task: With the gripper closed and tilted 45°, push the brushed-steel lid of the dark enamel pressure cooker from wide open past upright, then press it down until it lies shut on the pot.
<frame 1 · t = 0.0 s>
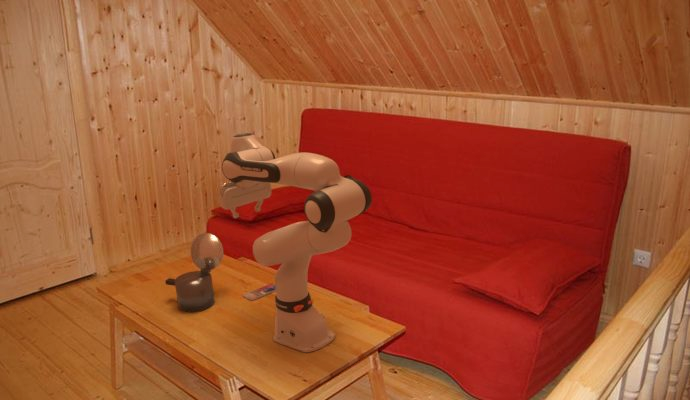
hand: (246, 214, 203), 39 cm above the table, tool pointing down, fingers open, 8 cm apart
cooker pot: (196, 303, 222), on the table
lid: (207, 252, 226), point 18 cm above the table, hinge at 108.0°
smartphone: (262, 293, 228), on the table
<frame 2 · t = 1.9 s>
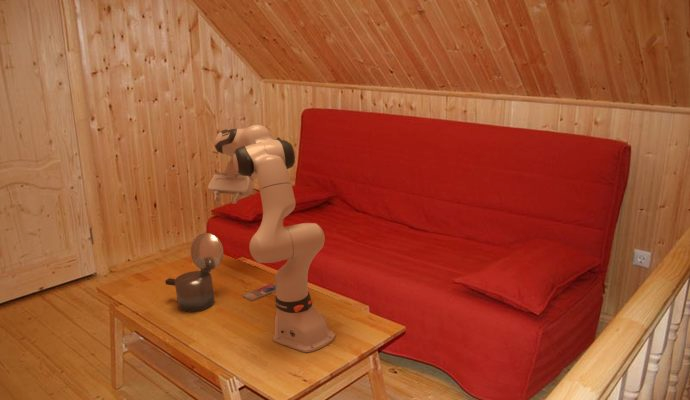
hand: (224, 202, 235), 34 cm above the table, tool tilted 45°, fingers open, 7 cm apart
nothing on the table moved.
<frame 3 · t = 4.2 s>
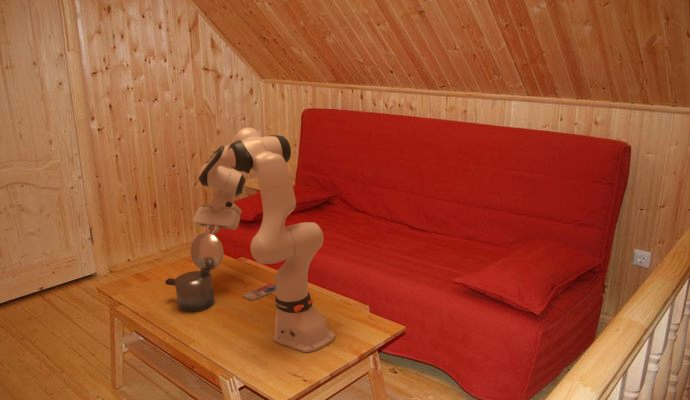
hand: (210, 236, 227), 23 cm above the table, tool tilted 45°, fingers closed, pressing on lid
lid: (207, 252, 226), point 18 cm above the table, hinge at 108.0°, touching gripper
everything else where it was.
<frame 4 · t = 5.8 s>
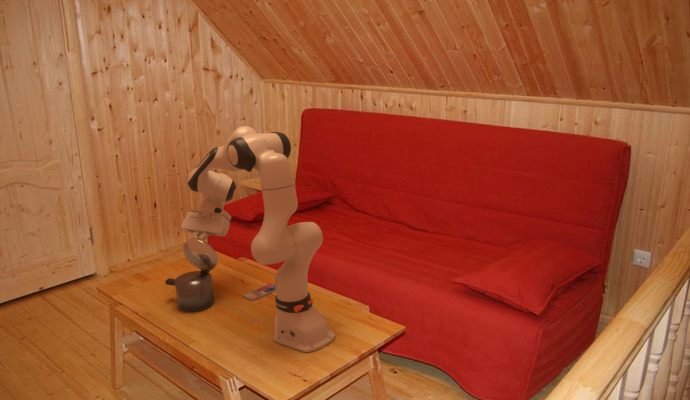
hand: (198, 243, 220), 23 cm above the table, tool tilted 45°, fingers closed, pressing on lid
lid: (201, 254, 222), point 18 cm above the table, hinge at 75.3°, touching gripper
everything else where it was.
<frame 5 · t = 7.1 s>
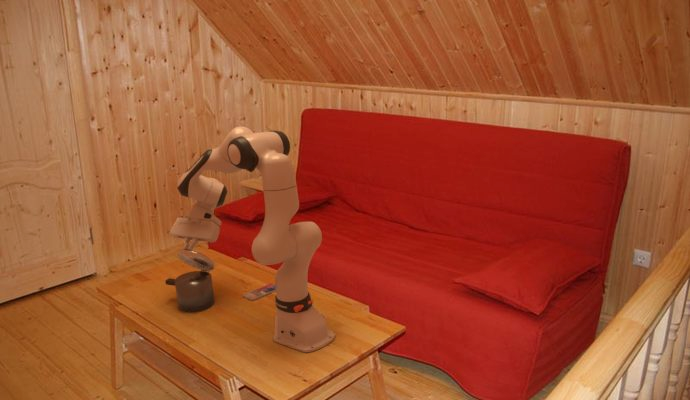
hand: (187, 249, 214), 23 cm above the table, tool tilted 45°, fingers closed, pressing on lid
lid: (197, 258, 220), point 18 cm above the table, hinge at 51.4°, touching gripper
everything else where it was.
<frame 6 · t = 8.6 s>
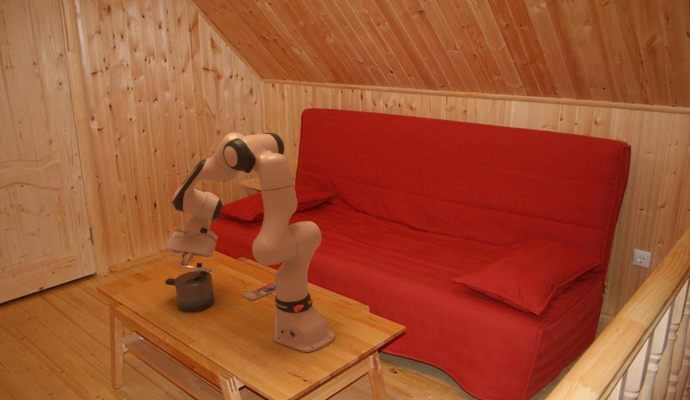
hand: (183, 264, 212), 19 cm above the table, tool tilted 45°, fingers closed, pressing on lid
lid: (194, 265, 218), point 16 cm above the table, hinge at 26.9°, touching gripper
everything else where it was.
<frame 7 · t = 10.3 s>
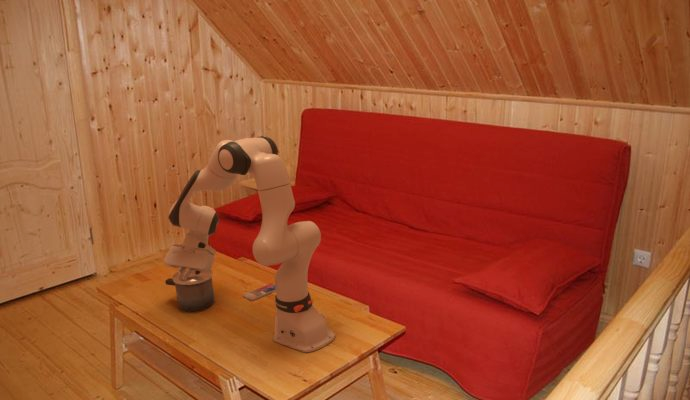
hand: (181, 279, 212), 14 cm above the table, tool tilted 45°, fingers closed, pressing on lid
lid: (193, 273, 218), point 13 cm above the table, hinge at 2.6°, touching gripper
everything else where it was.
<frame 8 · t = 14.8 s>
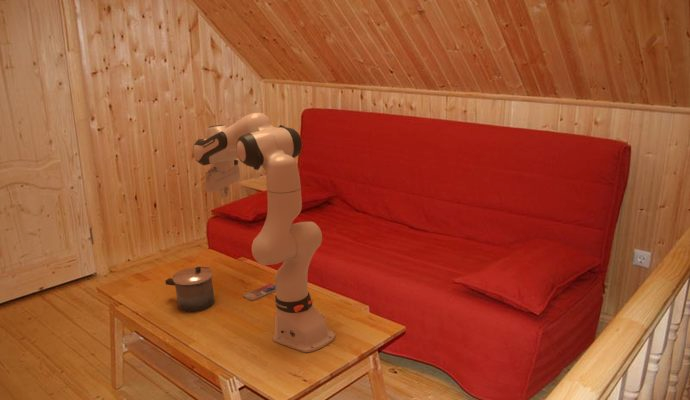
hand: (224, 197, 231), 37 cm above the table, tool pointing down, fingers closed
lid: (193, 273, 218), point 13 cm above the table, hinge at 2.5°
everything else where it was.
at the end: lid at +2° (first picture: +108°); smartphone moved 0.6 cm from its start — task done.
